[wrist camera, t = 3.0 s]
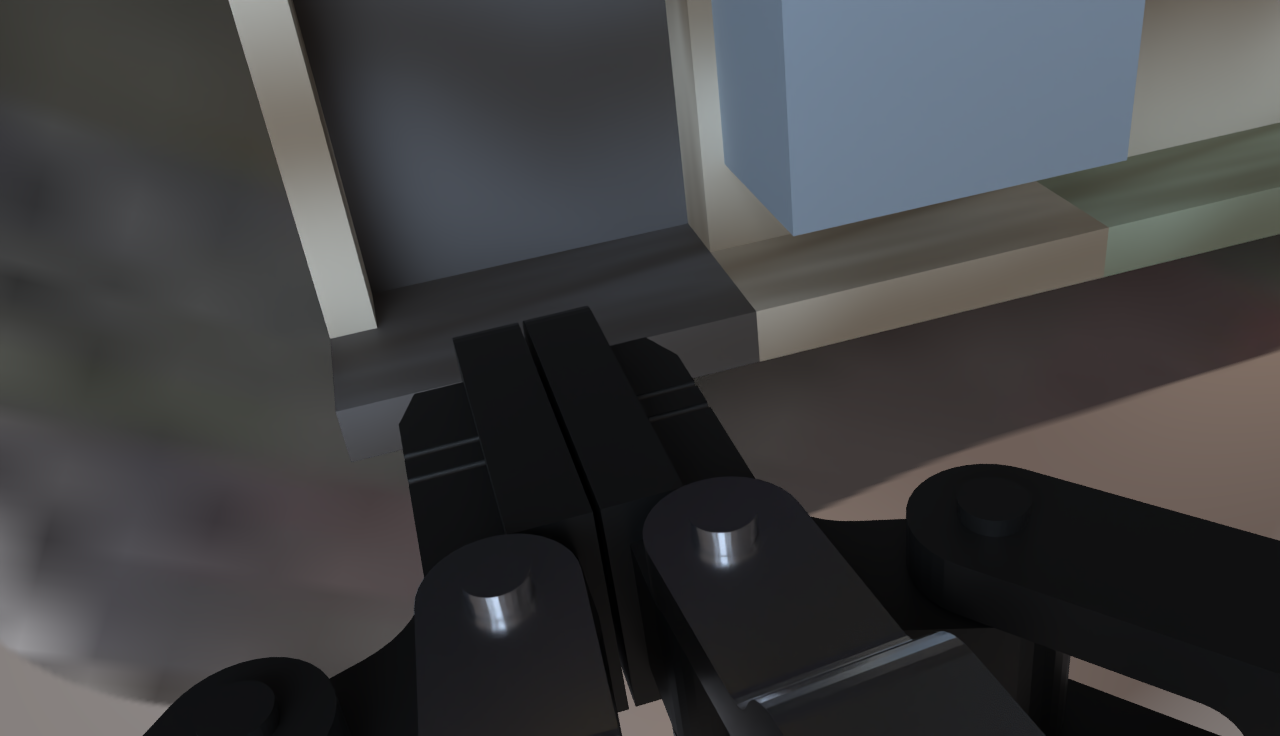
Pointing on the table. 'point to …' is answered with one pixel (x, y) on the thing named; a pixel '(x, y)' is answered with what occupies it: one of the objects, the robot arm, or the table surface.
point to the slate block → (918, 99)
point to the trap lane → (684, 187)
